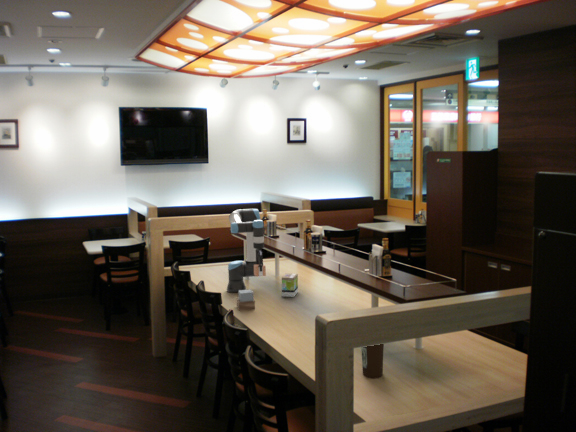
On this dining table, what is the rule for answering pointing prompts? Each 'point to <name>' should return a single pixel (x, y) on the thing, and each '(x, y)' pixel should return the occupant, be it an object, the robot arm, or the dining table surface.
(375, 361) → the brown coffee cup
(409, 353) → the dining table surface
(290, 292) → the tea box
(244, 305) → the walnut block
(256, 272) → the terracotta cube
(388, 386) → the dining table surface
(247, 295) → the slate block
